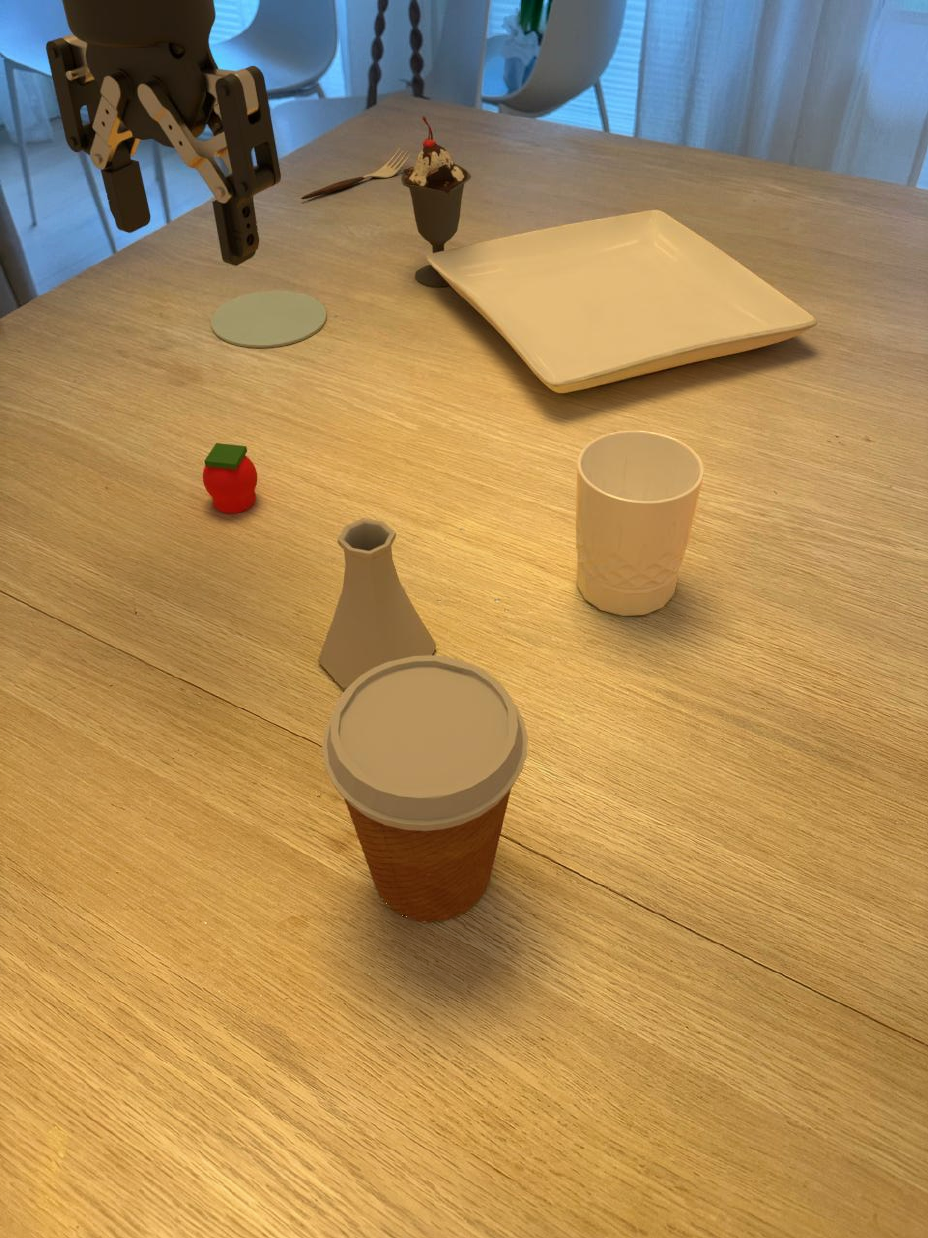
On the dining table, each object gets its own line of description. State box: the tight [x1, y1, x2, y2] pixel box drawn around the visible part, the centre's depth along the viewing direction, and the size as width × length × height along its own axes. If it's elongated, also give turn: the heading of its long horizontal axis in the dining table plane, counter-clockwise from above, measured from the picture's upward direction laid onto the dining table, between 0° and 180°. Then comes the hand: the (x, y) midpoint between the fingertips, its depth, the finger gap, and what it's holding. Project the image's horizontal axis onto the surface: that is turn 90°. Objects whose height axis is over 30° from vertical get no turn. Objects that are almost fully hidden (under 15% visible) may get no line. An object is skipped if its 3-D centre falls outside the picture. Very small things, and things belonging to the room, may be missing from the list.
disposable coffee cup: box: [321, 654, 529, 923], centre depth 52 cm, size 10×10×12 cm
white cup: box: [575, 429, 705, 617], centre depth 69 cm, size 8×8×10 cm
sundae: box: [400, 115, 472, 288], centre depth 102 cm, size 7×7×15 cm
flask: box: [317, 517, 437, 689], centre depth 64 cm, size 7×7×10 cm
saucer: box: [210, 290, 328, 349], centre depth 101 cm, size 11×11×1 cm
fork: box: [300, 147, 413, 200], centre depth 125 cm, size 3×16×2 cm, turn 133°
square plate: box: [425, 209, 818, 394], centre depth 99 cm, size 27×27×4 cm
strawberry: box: [202, 442, 258, 514], centre depth 79 cm, size 4×4×4 cm
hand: (186, 243), depth 63 cm, fingers open, 8 cm apart
